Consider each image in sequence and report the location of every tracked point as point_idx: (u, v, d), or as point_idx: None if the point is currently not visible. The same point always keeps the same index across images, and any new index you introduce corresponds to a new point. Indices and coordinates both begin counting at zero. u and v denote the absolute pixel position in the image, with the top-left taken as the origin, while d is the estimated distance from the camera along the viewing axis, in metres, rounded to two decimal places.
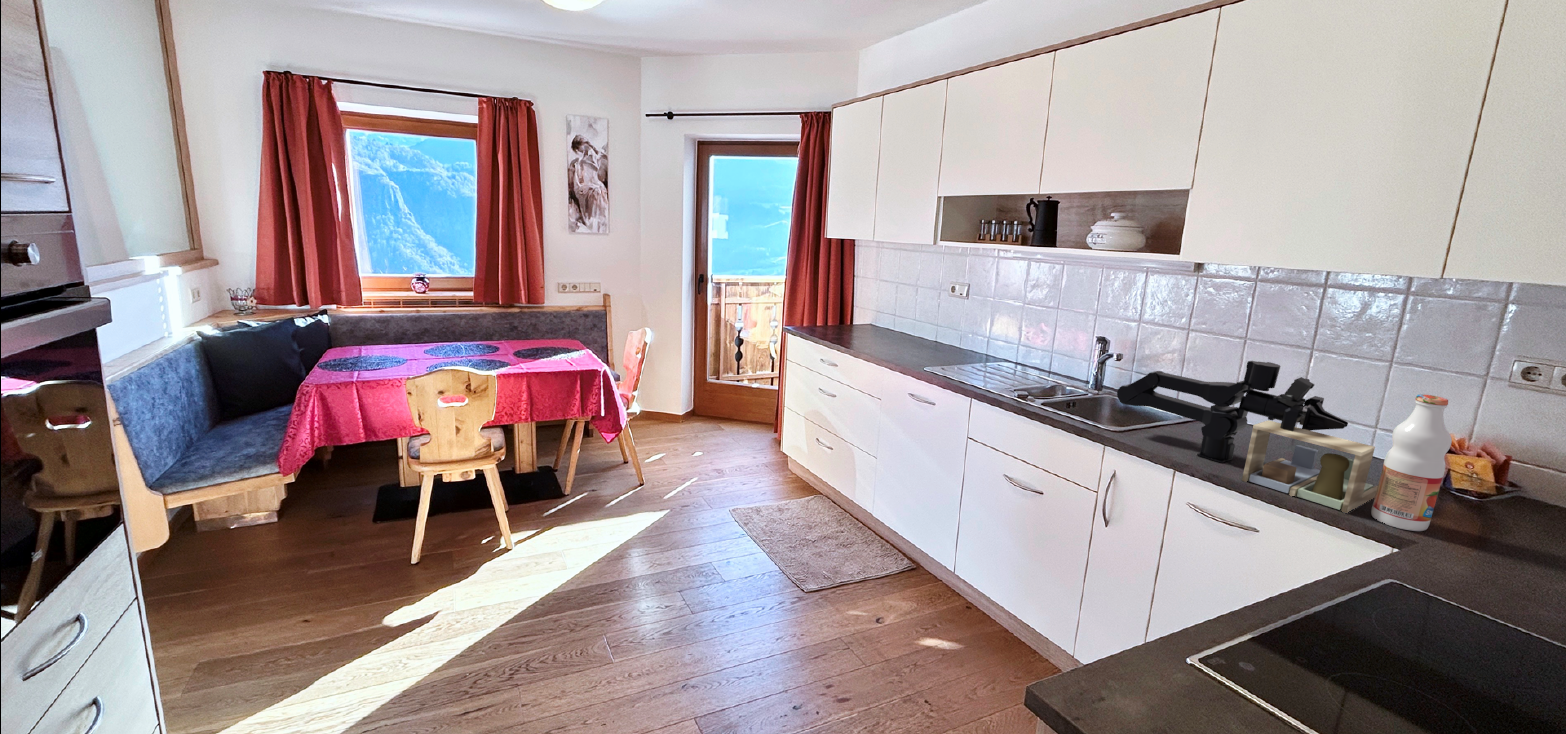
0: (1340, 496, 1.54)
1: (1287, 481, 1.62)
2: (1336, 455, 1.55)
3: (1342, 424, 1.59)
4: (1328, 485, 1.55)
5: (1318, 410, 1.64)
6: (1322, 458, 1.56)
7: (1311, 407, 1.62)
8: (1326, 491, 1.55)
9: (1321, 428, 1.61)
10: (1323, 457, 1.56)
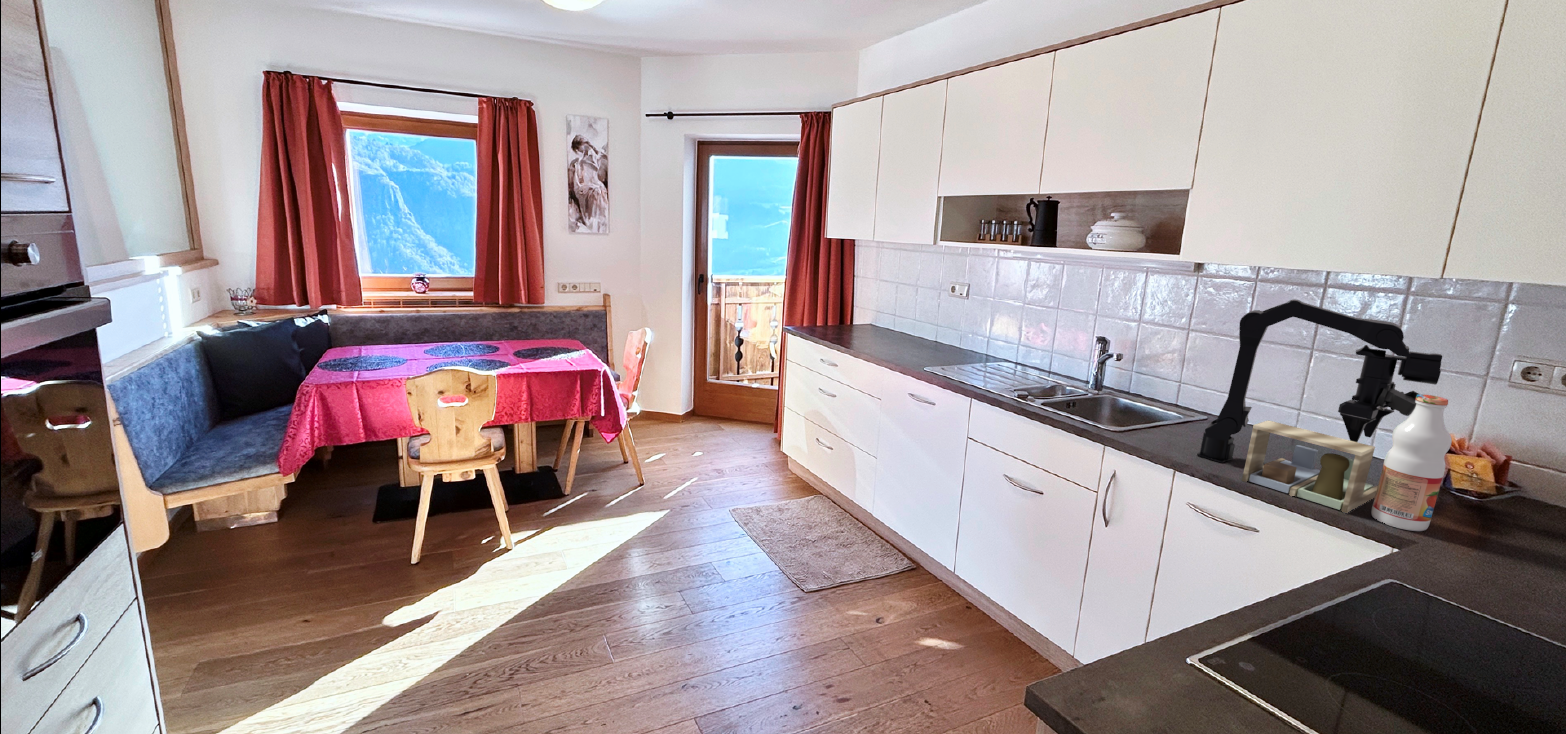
0: (1340, 496, 1.54)
1: (1287, 481, 1.62)
2: (1336, 455, 1.55)
3: (1355, 441, 1.59)
4: (1328, 485, 1.55)
5: (1382, 414, 1.63)
6: (1322, 458, 1.56)
7: (1372, 420, 1.55)
8: (1326, 491, 1.55)
9: (1347, 426, 1.60)
10: (1323, 457, 1.56)
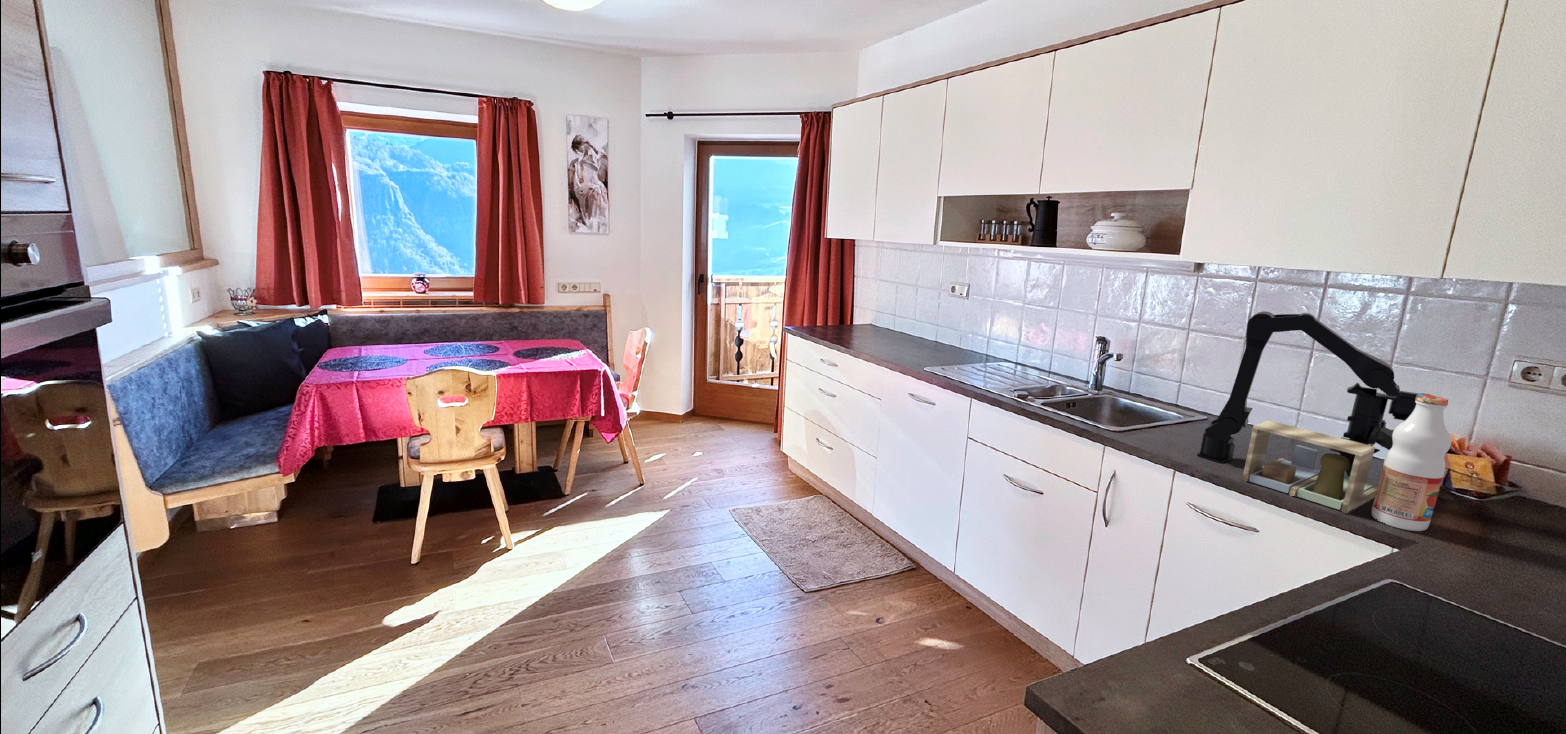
0: (1340, 496, 1.54)
1: (1287, 481, 1.62)
2: (1336, 455, 1.55)
3: None
4: (1328, 485, 1.55)
5: None
6: (1322, 458, 1.56)
7: None
8: (1326, 491, 1.55)
9: None
10: (1323, 457, 1.56)
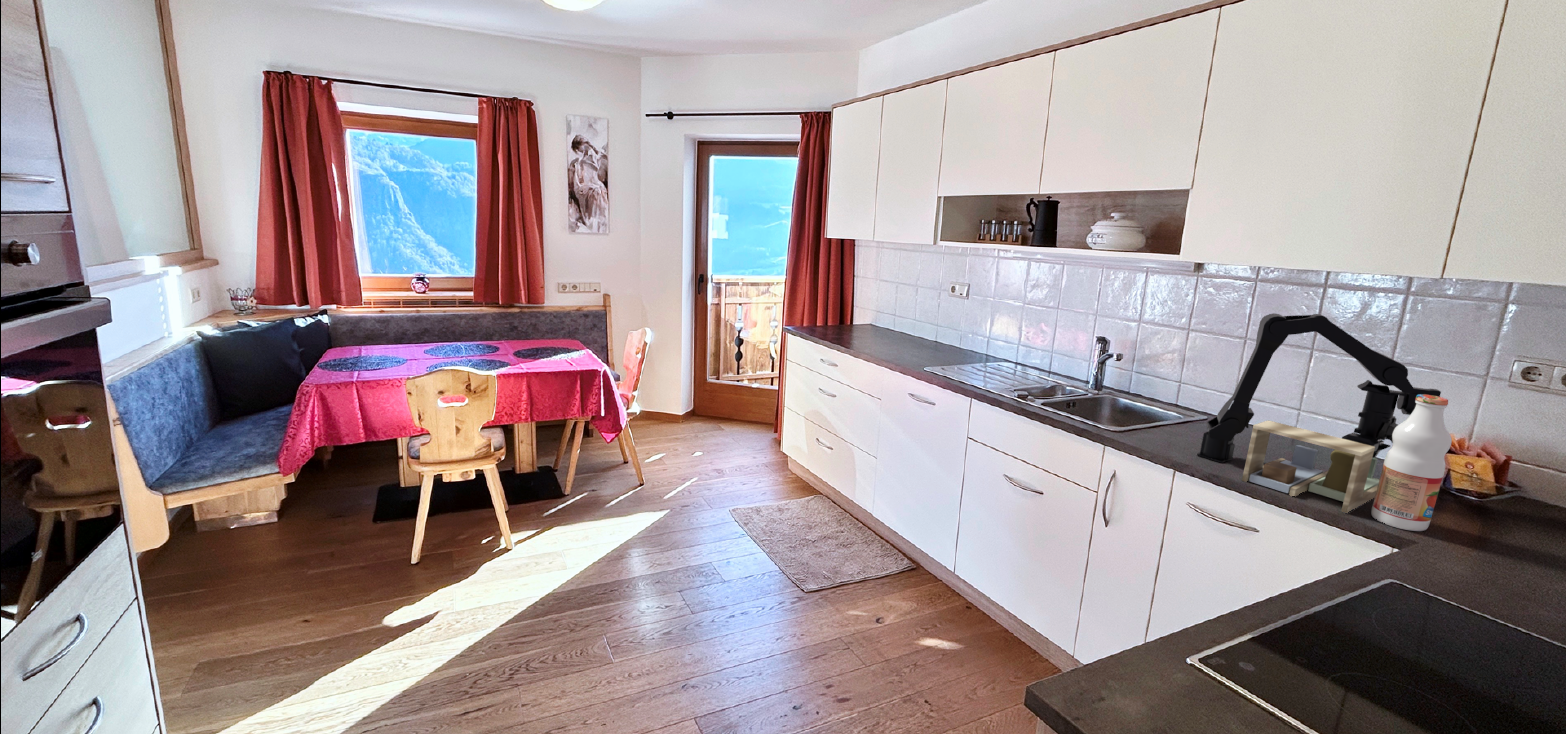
0: None
1: (1287, 481, 1.62)
2: None
3: None
4: (1338, 480, 1.58)
5: (1378, 448, 1.67)
6: (1332, 454, 1.59)
7: (1378, 451, 1.63)
8: (1336, 486, 1.58)
9: None
10: (1333, 453, 1.59)
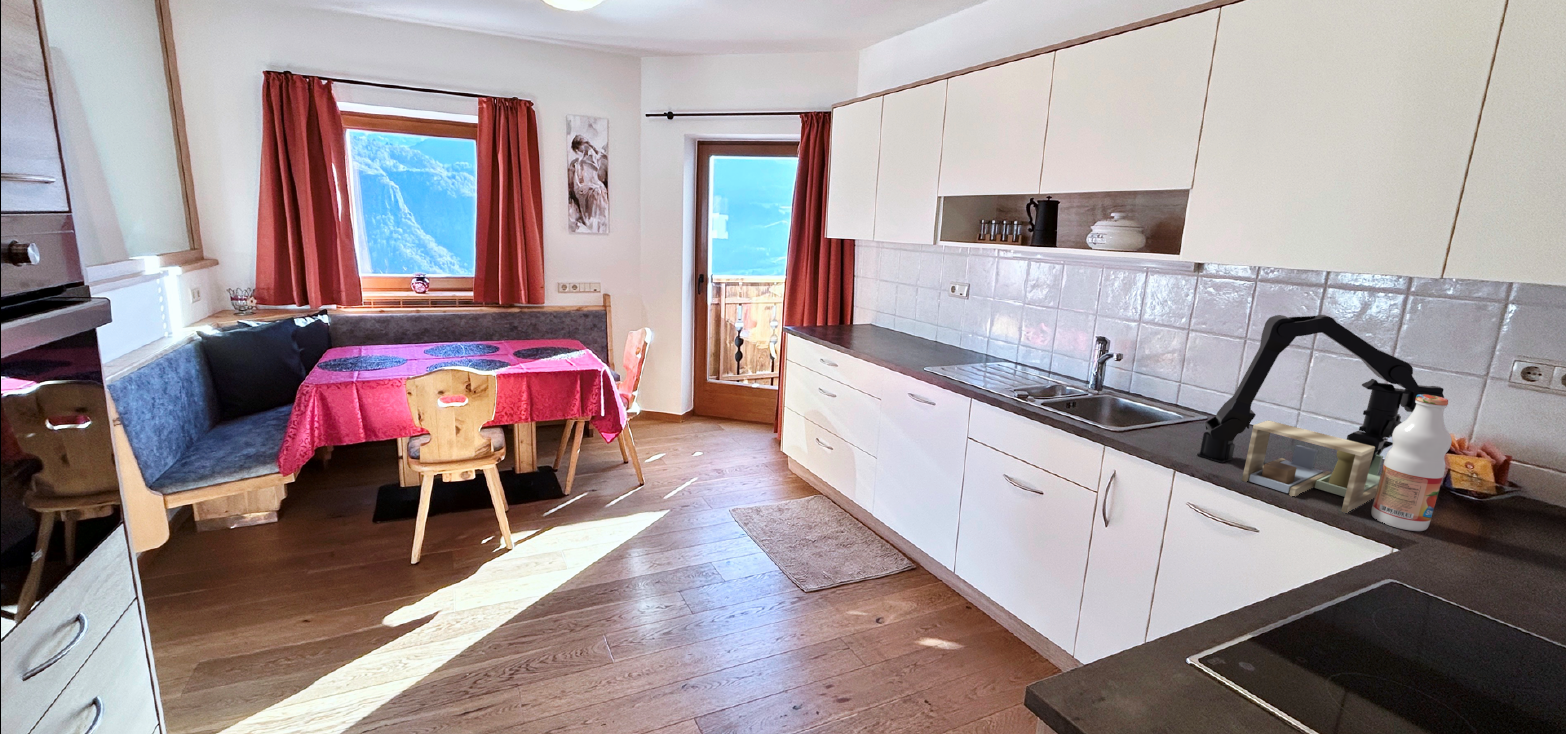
0: None
1: (1287, 481, 1.62)
2: None
3: None
4: (1344, 477, 1.60)
5: (1382, 446, 1.68)
6: (1338, 451, 1.61)
7: (1383, 448, 1.65)
8: (1343, 483, 1.60)
9: None
10: None
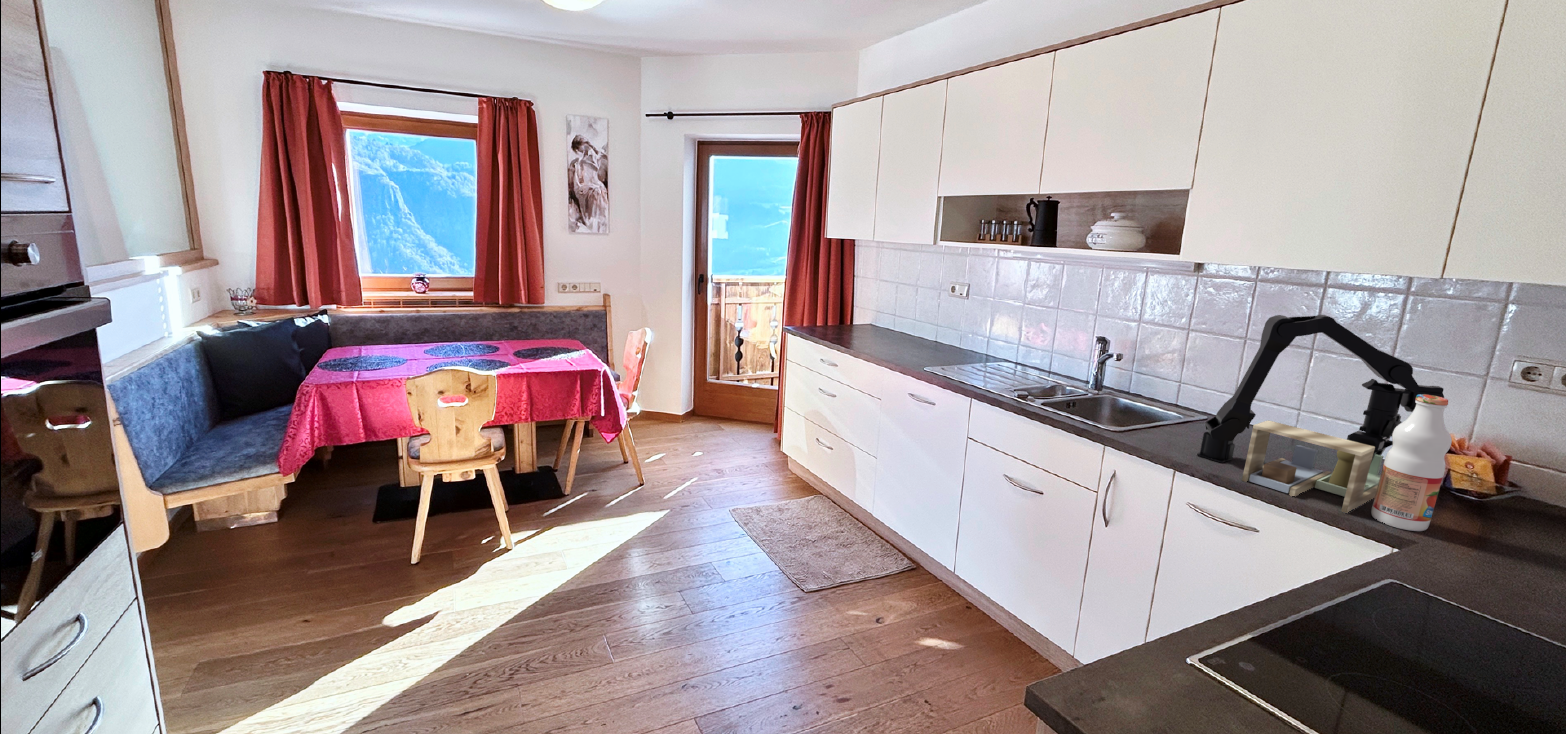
0: None
1: (1287, 481, 1.62)
2: None
3: None
4: (1344, 477, 1.60)
5: (1384, 445, 1.69)
6: (1338, 451, 1.61)
7: (1382, 449, 1.64)
8: (1343, 483, 1.60)
9: None
10: None
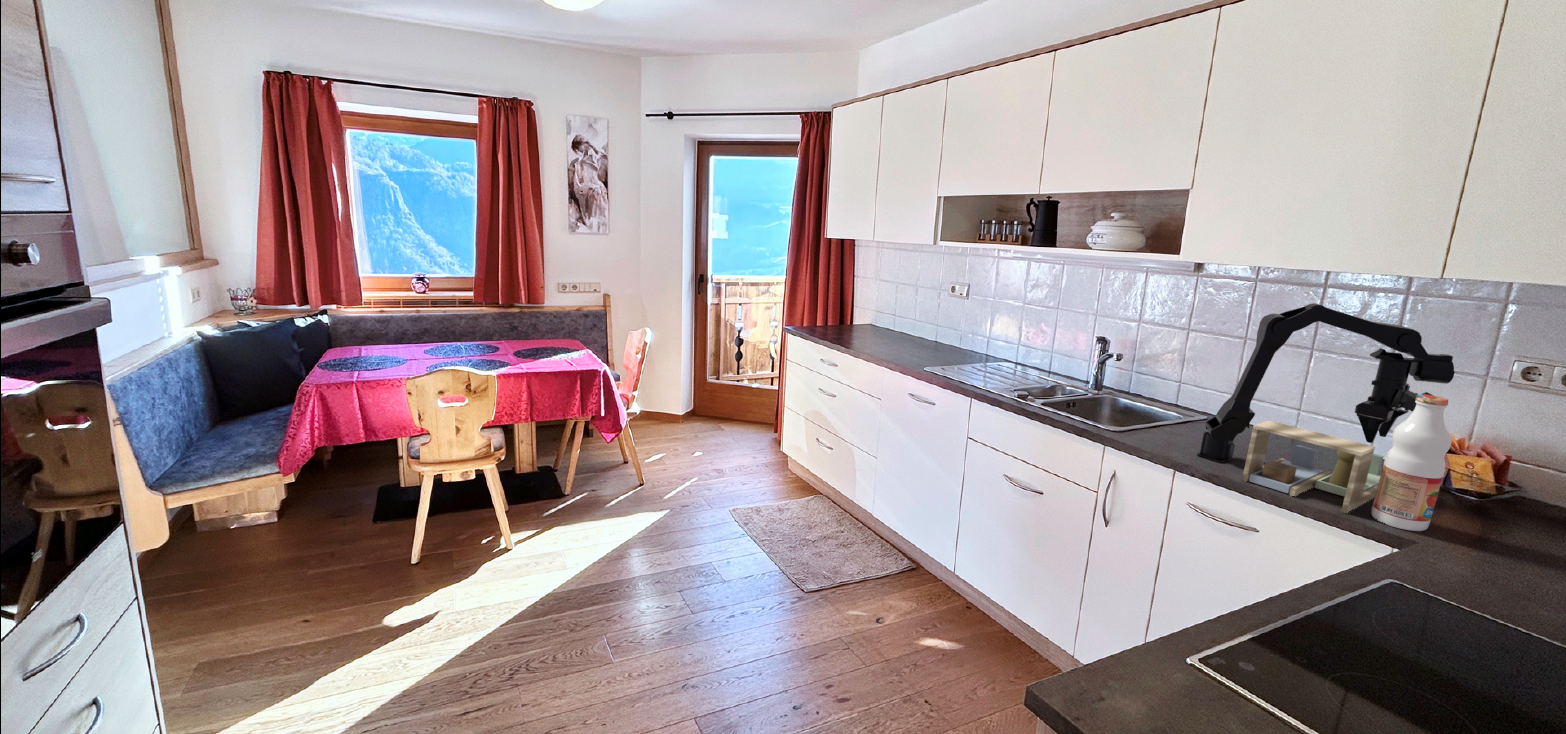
0: None
1: (1287, 481, 1.62)
2: None
3: (1371, 441, 1.65)
4: (1344, 477, 1.60)
5: (1396, 414, 1.69)
6: (1338, 451, 1.61)
7: (1387, 420, 1.61)
8: (1343, 483, 1.60)
9: (1363, 426, 1.66)
10: None
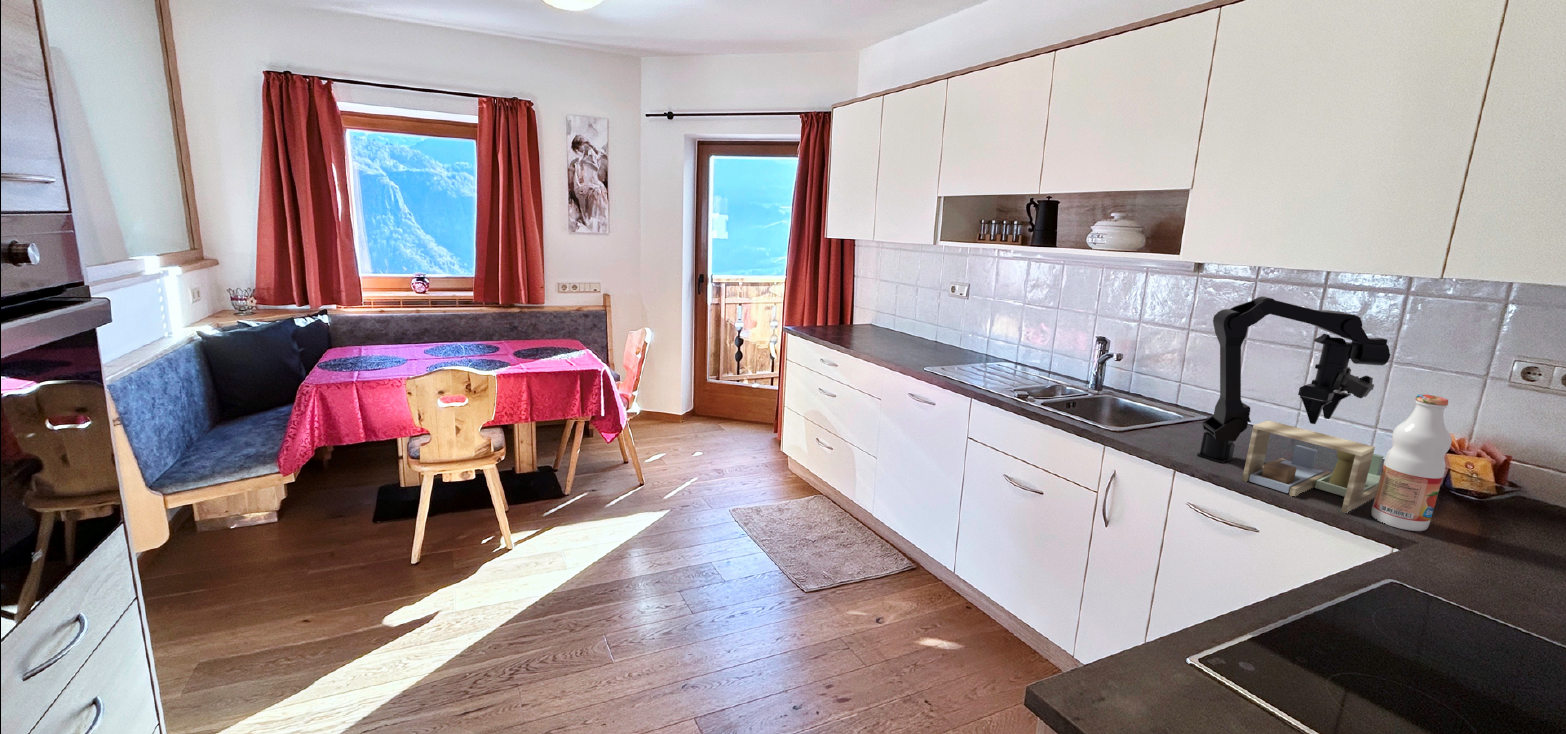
0: None
1: (1287, 481, 1.62)
2: None
3: (1314, 422, 1.73)
4: (1344, 477, 1.60)
5: (1339, 397, 1.76)
6: (1338, 451, 1.61)
7: (1328, 402, 1.68)
8: (1343, 483, 1.60)
9: (1306, 408, 1.73)
10: None
